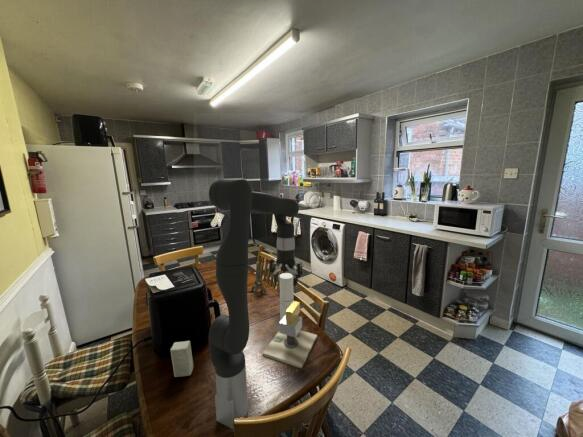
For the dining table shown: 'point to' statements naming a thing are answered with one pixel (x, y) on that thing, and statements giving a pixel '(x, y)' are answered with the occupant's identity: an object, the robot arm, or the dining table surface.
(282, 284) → the tall white block
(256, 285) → the eiffel tower
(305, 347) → the post base
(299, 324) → the coupling
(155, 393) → the dining table surface
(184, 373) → the skincare box
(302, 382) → the dining table surface
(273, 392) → the dining table surface
